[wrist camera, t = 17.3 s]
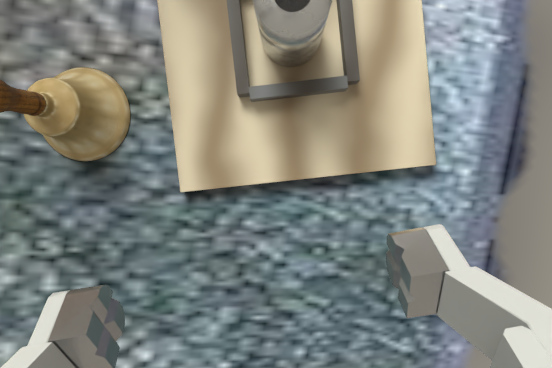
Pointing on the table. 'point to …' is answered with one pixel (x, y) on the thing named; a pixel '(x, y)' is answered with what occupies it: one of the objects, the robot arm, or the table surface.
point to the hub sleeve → (291, 28)
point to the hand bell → (74, 112)
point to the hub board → (295, 94)
